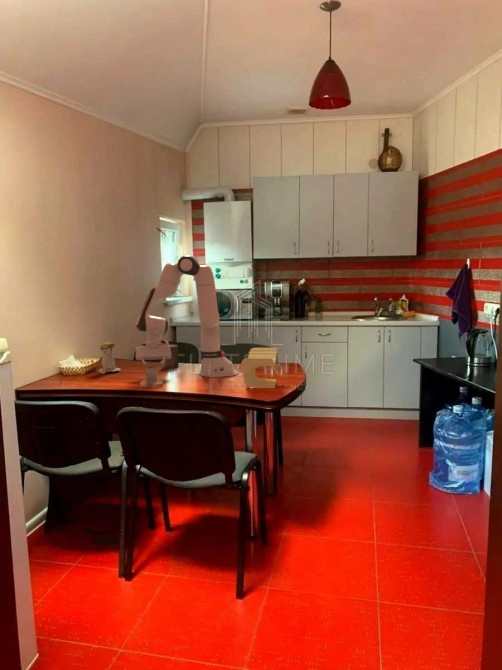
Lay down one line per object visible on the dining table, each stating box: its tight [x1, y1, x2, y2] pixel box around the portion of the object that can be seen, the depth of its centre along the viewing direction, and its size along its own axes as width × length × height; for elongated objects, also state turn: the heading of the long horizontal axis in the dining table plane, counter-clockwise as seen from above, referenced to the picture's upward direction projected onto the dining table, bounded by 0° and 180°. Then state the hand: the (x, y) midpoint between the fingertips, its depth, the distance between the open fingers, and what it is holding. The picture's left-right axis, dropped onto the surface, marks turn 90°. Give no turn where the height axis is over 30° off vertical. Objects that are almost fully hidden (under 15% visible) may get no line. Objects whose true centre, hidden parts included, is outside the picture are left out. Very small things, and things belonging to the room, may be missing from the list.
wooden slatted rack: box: [240, 347, 278, 389], centre depth 271 cm, size 30×16×18 cm, turn 172°
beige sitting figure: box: [98, 341, 121, 375], centre depth 312 cm, size 12×13×18 cm
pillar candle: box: [162, 344, 180, 369], centre depth 323 cm, size 10×10×15 cm
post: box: [139, 378, 165, 388], centre depth 279 cm, size 12×12×6 cm
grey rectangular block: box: [145, 365, 158, 383], centre depth 279 cm, size 5×5×8 cm
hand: (153, 364), depth 290 cm, fingers open, 8 cm apart
